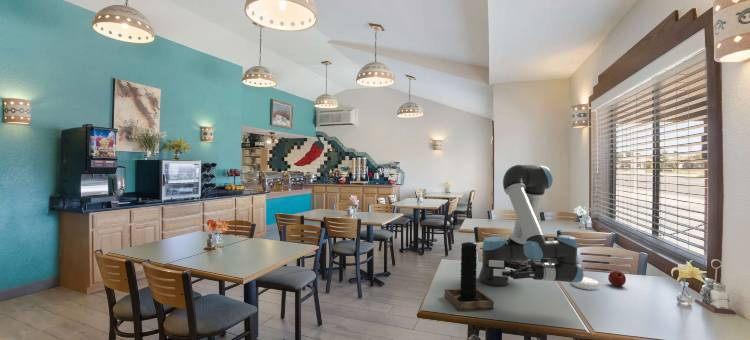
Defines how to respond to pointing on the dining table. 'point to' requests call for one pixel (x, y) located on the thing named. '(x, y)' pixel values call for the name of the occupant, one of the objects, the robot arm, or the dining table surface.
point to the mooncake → (587, 284)
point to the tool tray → (482, 304)
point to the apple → (617, 278)
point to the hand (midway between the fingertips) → (491, 267)
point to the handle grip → (468, 272)
